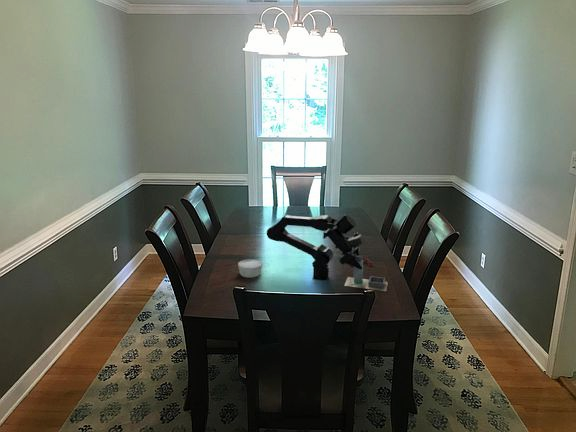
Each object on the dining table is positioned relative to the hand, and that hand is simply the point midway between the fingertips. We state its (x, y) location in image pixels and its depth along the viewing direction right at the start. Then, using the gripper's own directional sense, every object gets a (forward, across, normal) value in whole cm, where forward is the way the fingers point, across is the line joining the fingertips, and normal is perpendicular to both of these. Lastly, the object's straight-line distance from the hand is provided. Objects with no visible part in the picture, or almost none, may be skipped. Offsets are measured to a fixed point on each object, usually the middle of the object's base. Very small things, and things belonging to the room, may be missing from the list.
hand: (362, 266), depth 201 cm
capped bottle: (+4, 0, +6) cm, 8 cm away
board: (+7, 0, +4) cm, 9 cm away
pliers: (+2, +28, +11) cm, 31 cm away
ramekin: (-30, -7, +42) cm, 52 cm away
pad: (+5, 0, +7) cm, 8 cm away
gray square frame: (+10, 0, +1) cm, 10 cm away
